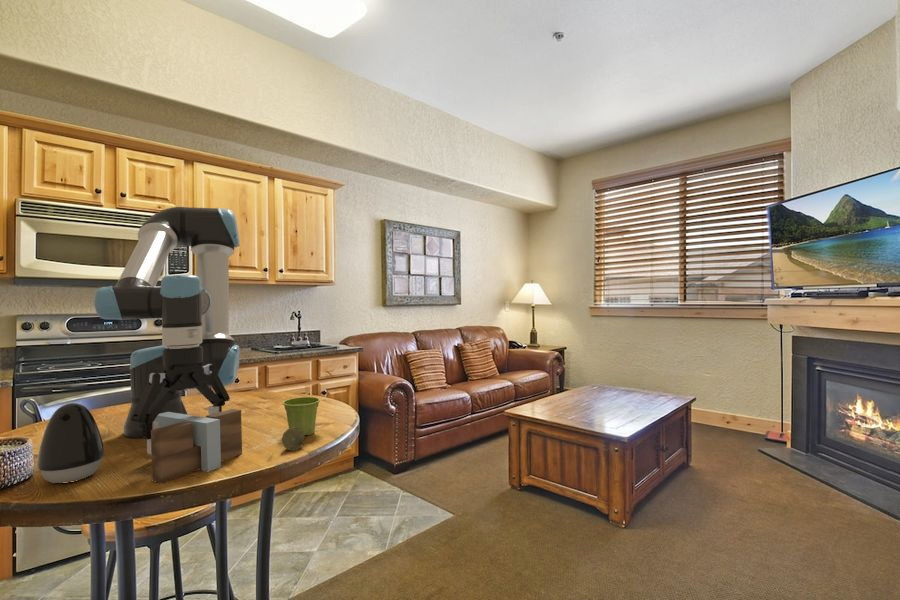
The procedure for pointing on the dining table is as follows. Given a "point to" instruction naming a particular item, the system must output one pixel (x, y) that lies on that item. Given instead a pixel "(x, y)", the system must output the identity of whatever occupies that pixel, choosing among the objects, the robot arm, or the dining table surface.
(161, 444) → the brown notched board
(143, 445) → the dining table surface
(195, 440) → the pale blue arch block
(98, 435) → the black two-tone rounded device
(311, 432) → the plant pot
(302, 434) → the dark grey round lump
